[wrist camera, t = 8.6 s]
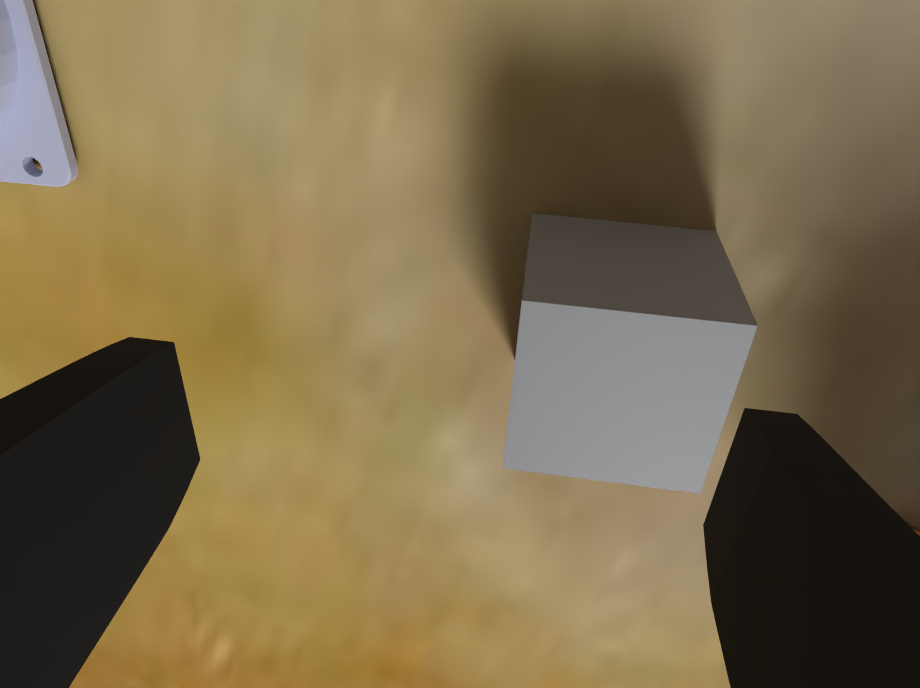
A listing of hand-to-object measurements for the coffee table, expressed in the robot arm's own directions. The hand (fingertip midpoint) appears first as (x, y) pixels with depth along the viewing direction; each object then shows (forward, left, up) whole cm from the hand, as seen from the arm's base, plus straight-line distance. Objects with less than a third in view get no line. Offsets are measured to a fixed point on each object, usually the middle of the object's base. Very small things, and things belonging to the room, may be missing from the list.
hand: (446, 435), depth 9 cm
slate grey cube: (+3, -3, -10) cm, 10 cm away
